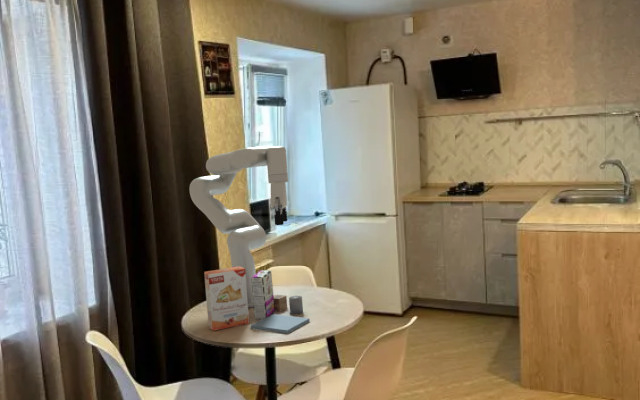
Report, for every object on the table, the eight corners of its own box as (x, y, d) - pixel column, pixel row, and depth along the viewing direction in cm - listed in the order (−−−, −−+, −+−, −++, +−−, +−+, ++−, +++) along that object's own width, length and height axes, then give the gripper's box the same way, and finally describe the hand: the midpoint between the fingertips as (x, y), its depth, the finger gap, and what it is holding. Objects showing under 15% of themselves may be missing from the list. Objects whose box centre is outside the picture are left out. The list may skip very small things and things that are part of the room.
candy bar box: (262, 311, 225) (259, 270, 223) (275, 310, 224) (272, 269, 222) (254, 319, 214) (250, 276, 212) (266, 319, 213) (263, 276, 211)
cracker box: (213, 331, 203) (208, 274, 201) (208, 327, 208) (203, 271, 206) (250, 323, 209) (245, 267, 207) (244, 319, 214) (240, 265, 212)
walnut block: (269, 310, 225) (268, 297, 225) (277, 306, 230) (276, 294, 229) (280, 311, 223) (279, 298, 222) (287, 307, 227) (286, 295, 227)
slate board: (250, 328, 203) (250, 325, 203) (273, 317, 215) (273, 314, 215) (287, 333, 195) (287, 330, 195) (309, 321, 207) (309, 318, 207)
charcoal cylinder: (287, 313, 218) (286, 298, 218) (294, 310, 223) (293, 295, 222) (298, 315, 216) (297, 299, 215) (305, 311, 220) (304, 296, 220)
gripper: (272, 177, 226) (275, 220, 228) (264, 180, 209) (267, 227, 211) (290, 176, 226) (293, 219, 227) (284, 179, 208) (287, 225, 210)
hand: (281, 223), depth 219 cm, fingers open, 9 cm apart
